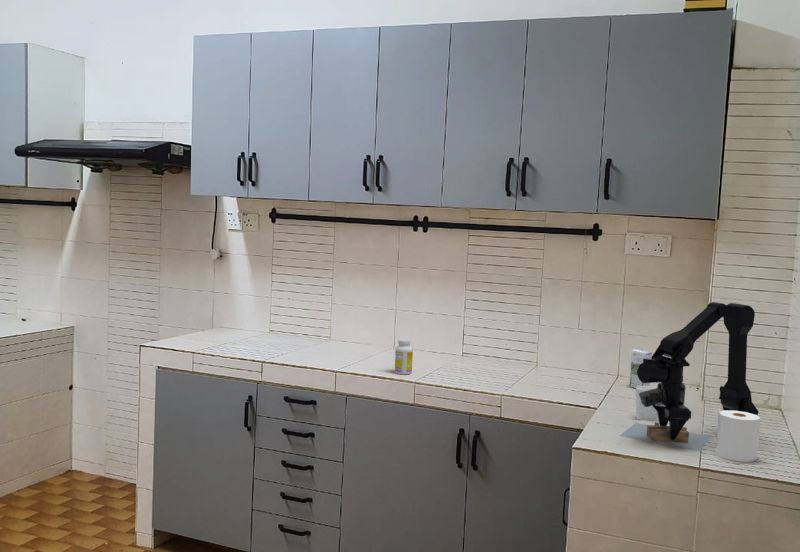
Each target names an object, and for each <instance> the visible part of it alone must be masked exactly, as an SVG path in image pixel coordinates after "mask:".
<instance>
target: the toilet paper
mask: <svg viewBox="0 0 800 552" xmlns="http://www.w3.org/2000/svg"><path fill="white" fill-rule="evenodd" d="M717 415H718V416H717V427H716V441H715V453H716V455H717V456H718V457H721V458H723V459H726V460H730V461H735V462H741V463H742V462H743V463H747V462H754V461H756V460H758V451H759V442H760V441H759V440H760V429H761V428H760V427H761V417H760V416H758V415H754V414H751V413H748V412H741V411H734V410H723V409H722V410H721V411H718V414H717Z"/></svg>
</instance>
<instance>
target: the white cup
mask: <svg viewBox="0 0 800 552" xmlns="http://www.w3.org/2000/svg"><path fill="white" fill-rule="evenodd" d="M656 388H657V386H652V385H650V386H637V387H636V389H635V418H636V419H637V420H638V421H647V422H648V421H649V422H659V420H658V415H657V411H656V410H655V409H654V408H653V406H652V405H651V406H649V407H645V406H644V405H643V404H642V403H641V399H640V396H639V393H641V392H644V391H648V390H651V389H656Z"/></svg>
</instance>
